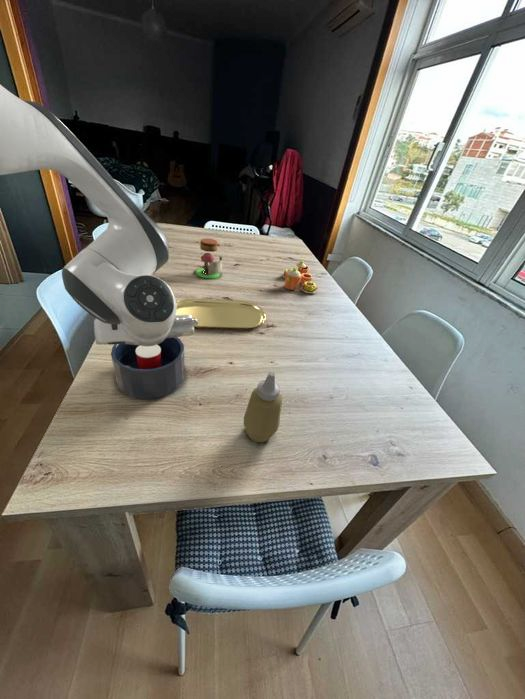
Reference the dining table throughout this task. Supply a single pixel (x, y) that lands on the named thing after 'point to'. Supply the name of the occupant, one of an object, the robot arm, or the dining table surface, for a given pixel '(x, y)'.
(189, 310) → the serving platter
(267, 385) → the squeeze bottle
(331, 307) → the dining table surface
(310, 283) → the toy tea set
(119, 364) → the pot
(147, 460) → the dining table surface
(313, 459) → the dining table surface
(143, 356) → the disc
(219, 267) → the mushroom terrarium jar
